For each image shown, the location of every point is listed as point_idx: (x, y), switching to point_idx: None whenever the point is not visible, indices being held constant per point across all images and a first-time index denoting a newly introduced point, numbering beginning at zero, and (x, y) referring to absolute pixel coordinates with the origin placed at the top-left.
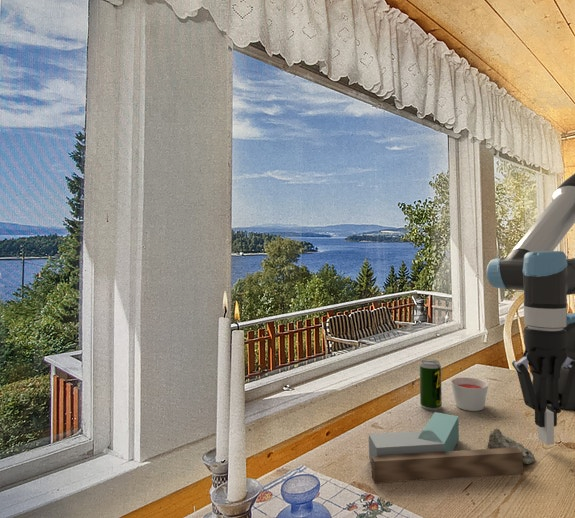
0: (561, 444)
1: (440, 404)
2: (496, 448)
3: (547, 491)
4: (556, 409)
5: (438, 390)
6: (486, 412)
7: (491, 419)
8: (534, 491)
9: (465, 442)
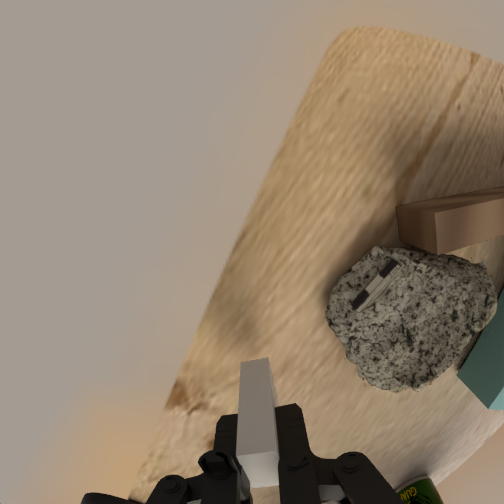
0: (193, 398)
1: (403, 492)
2: (471, 265)
3: (364, 107)
4: (221, 467)
5: None
6: None
7: None
8: (396, 110)
9: None
